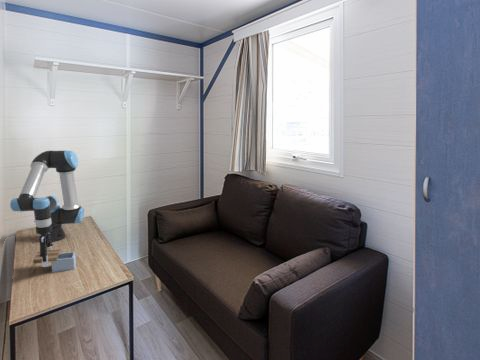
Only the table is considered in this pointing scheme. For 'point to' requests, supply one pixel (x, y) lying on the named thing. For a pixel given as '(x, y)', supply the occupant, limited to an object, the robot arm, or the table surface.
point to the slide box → (64, 262)
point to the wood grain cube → (51, 255)
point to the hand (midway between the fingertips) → (47, 261)
